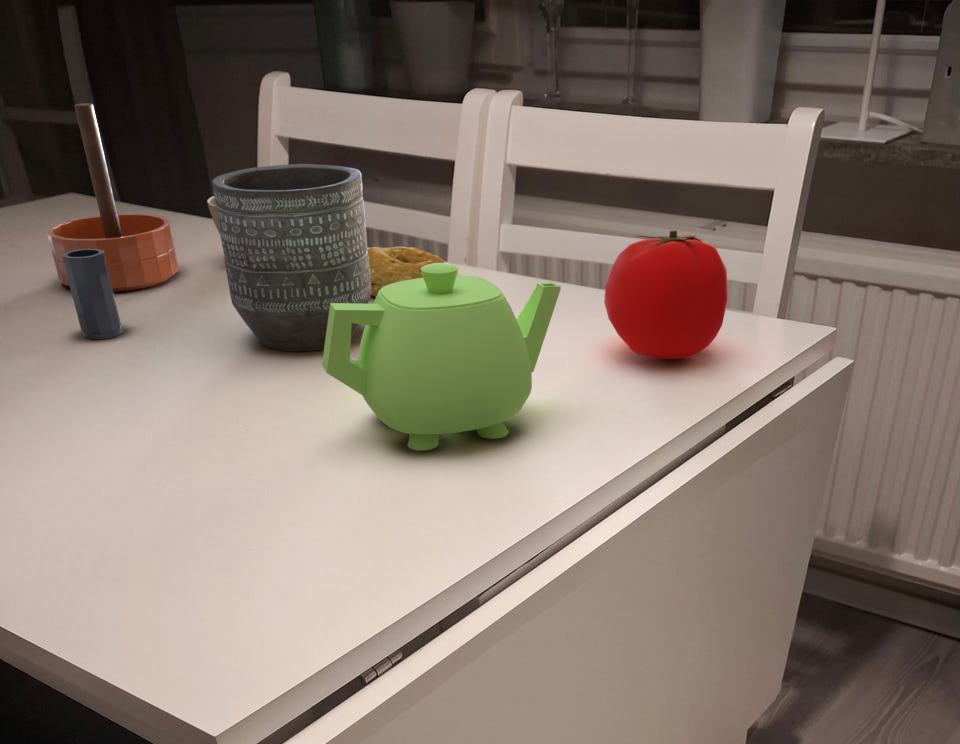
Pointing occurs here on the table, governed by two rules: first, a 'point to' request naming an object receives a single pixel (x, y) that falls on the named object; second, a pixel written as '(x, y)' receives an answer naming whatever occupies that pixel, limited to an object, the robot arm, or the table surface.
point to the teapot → (441, 353)
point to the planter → (293, 248)
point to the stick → (98, 169)
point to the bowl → (120, 248)
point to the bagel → (397, 265)
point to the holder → (92, 293)
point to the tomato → (667, 296)
